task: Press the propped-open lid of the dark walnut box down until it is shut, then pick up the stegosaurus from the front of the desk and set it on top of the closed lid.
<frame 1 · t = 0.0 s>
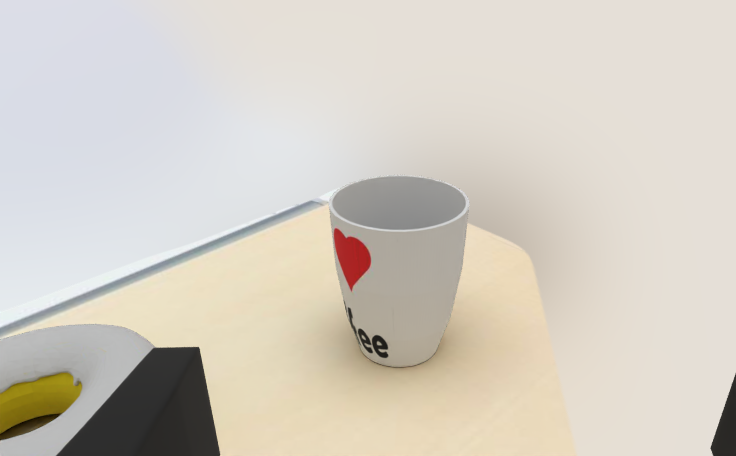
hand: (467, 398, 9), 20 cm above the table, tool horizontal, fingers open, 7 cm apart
cup: (399, 345, 44), on the table
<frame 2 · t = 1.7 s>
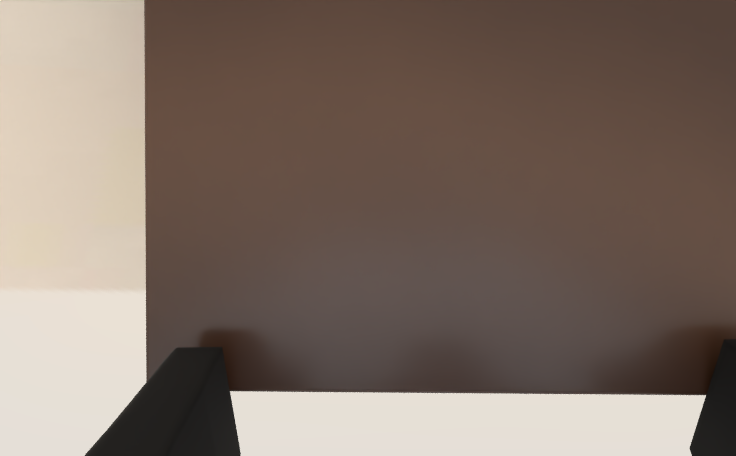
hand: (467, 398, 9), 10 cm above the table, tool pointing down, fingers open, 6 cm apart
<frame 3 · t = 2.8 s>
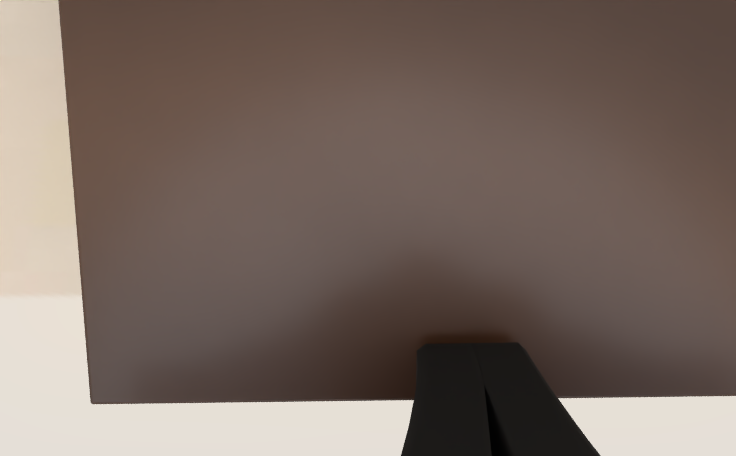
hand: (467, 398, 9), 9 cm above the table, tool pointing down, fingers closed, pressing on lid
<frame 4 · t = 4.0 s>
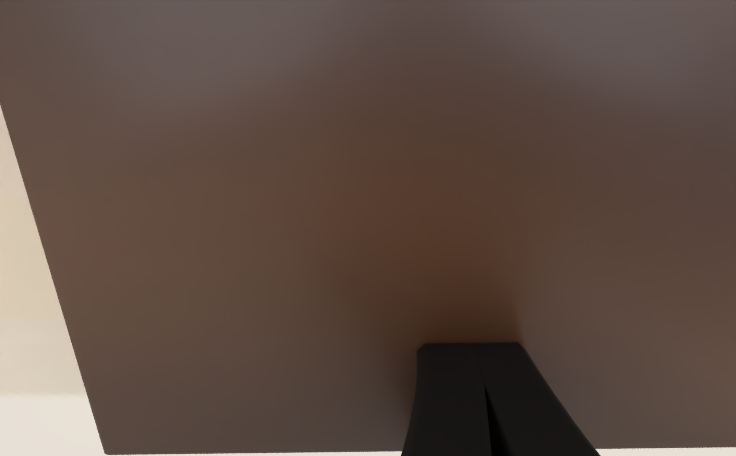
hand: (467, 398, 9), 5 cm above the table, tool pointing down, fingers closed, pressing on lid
lid: (486, 54, 7), point 5 cm above the table, hinge at 1.5°, touching gripper
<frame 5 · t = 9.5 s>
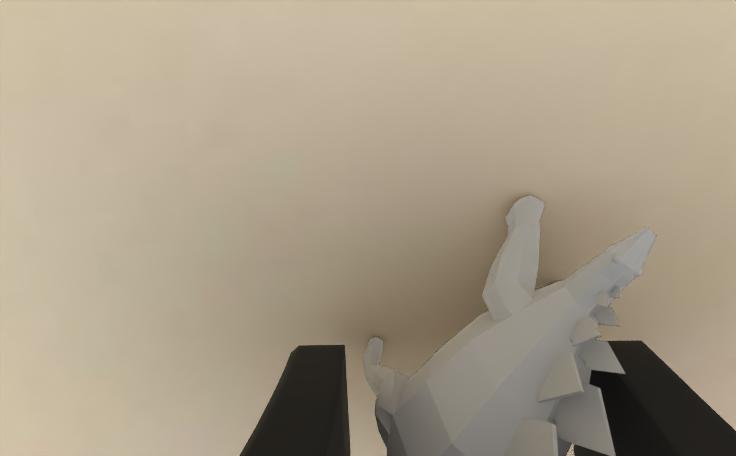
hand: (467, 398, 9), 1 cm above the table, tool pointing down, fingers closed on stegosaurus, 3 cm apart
stegosaurus: (452, 330, 11), on the table, touching gripper
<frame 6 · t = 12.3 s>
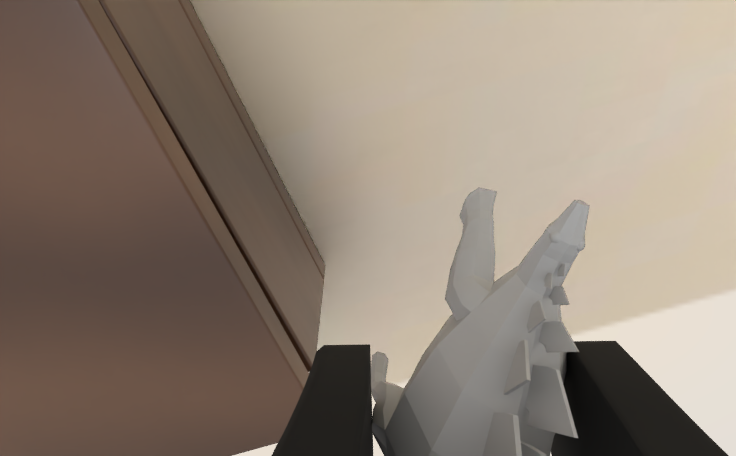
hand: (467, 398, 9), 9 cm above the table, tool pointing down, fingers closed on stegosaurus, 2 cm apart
stegosaurus: (451, 330, 11), point 7 cm above the table, touching gripper
box: (59, 170, 17), on the table
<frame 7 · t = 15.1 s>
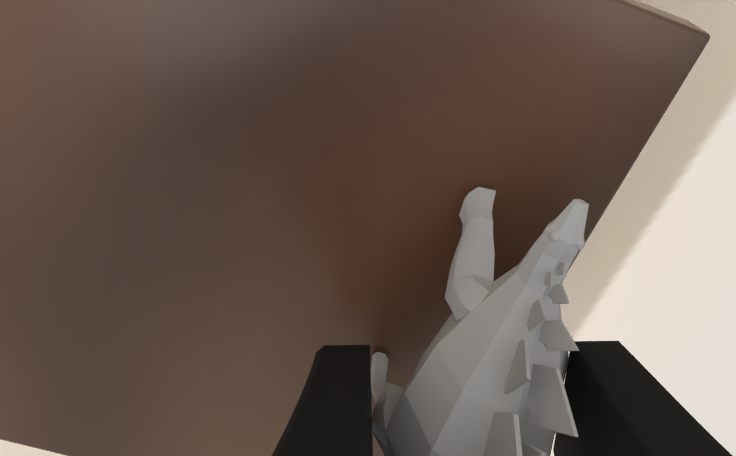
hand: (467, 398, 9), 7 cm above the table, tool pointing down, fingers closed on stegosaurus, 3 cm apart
stegosaurus: (451, 329, 11), point 5 cm above the table, touching gripper, lid
lid: (180, 230, 10), point 5 cm above the table, hinge at 1.1°, touching stegosaurus
when the fingers open (7 cm above the table, at t = 15.1 s): stegosaurus stays where it is, resting on lid.
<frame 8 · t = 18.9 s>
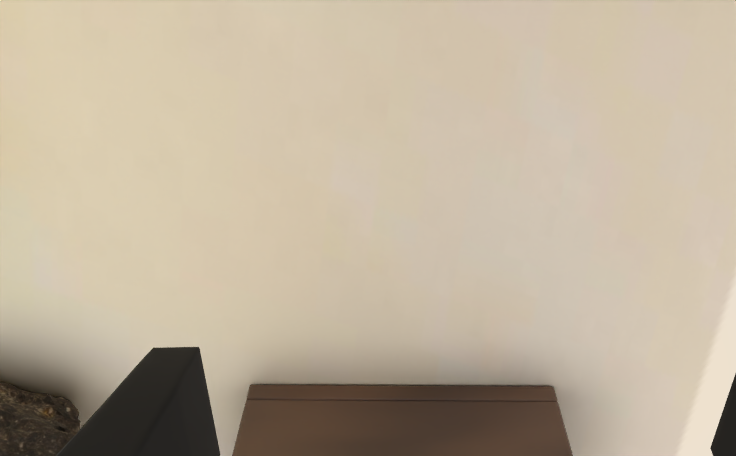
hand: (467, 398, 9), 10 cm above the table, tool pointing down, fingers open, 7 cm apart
rock: (2, 421, 25), on the table
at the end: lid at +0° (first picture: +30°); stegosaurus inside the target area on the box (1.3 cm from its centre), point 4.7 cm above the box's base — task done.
